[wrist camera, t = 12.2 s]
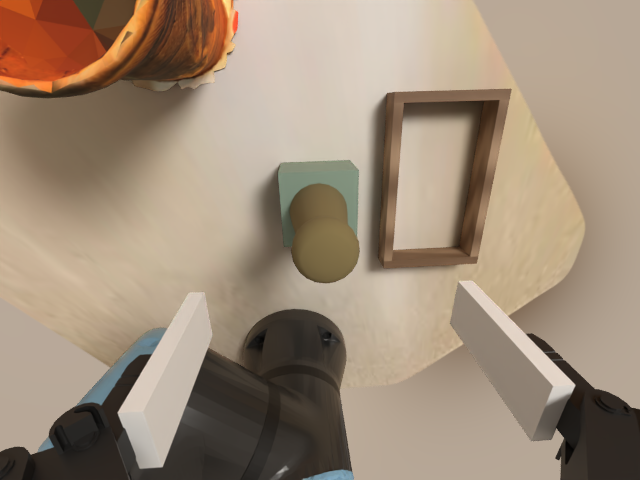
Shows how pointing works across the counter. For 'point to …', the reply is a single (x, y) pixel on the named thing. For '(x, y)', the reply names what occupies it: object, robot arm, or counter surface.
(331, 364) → the robot arm
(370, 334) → the counter surface
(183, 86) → the vessel
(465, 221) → the wooden frame
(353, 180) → the stand
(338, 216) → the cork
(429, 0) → the counter surface
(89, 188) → the counter surface
